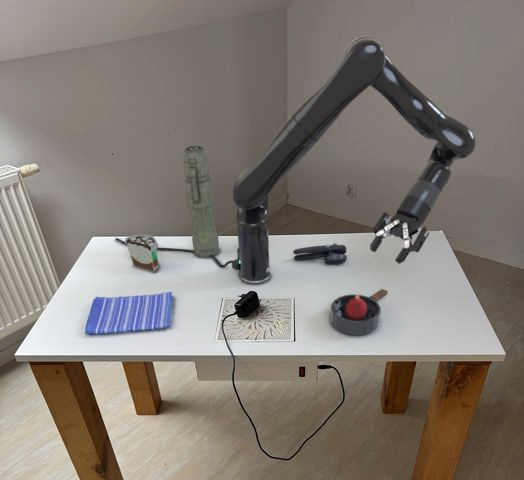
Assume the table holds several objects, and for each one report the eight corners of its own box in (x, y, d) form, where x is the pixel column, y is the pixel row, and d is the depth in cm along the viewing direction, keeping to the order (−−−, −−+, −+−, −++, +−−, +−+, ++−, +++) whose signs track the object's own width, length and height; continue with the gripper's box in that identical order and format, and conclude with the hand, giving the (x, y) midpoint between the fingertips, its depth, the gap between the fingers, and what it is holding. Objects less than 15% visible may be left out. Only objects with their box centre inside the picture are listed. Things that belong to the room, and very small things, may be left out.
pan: (320, 322, 132) (321, 308, 129) (350, 303, 139) (351, 289, 136) (358, 343, 125) (360, 328, 121) (388, 321, 131) (390, 307, 128)
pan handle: (372, 305, 133) (373, 300, 132) (366, 302, 134) (367, 297, 133) (387, 295, 136) (388, 290, 135) (381, 293, 138) (382, 287, 136)
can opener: (346, 256, 161) (347, 240, 157) (346, 266, 156) (347, 250, 152) (294, 254, 163) (294, 239, 160) (292, 264, 158) (292, 248, 154)
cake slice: (169, 265, 161) (164, 238, 154) (157, 274, 157) (151, 246, 150) (143, 257, 166) (137, 230, 160) (130, 265, 162) (123, 238, 156)
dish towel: (95, 303, 145) (93, 295, 143) (173, 296, 146) (172, 288, 144) (84, 337, 131) (81, 329, 129) (170, 329, 132) (169, 321, 131)
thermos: (193, 261, 162) (177, 155, 140) (195, 245, 172) (181, 143, 149) (219, 259, 163) (207, 153, 140) (220, 243, 172) (209, 141, 150)
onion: (365, 327, 129) (368, 302, 124) (343, 325, 130) (345, 301, 125) (365, 315, 133) (368, 290, 128) (345, 313, 134) (347, 289, 129)
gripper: (392, 187, 125) (358, 241, 127) (438, 202, 116) (401, 260, 118) (402, 201, 131) (369, 252, 133) (447, 217, 122) (411, 271, 124)
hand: (384, 256), depth 125 cm, fingers open, 8 cm apart
